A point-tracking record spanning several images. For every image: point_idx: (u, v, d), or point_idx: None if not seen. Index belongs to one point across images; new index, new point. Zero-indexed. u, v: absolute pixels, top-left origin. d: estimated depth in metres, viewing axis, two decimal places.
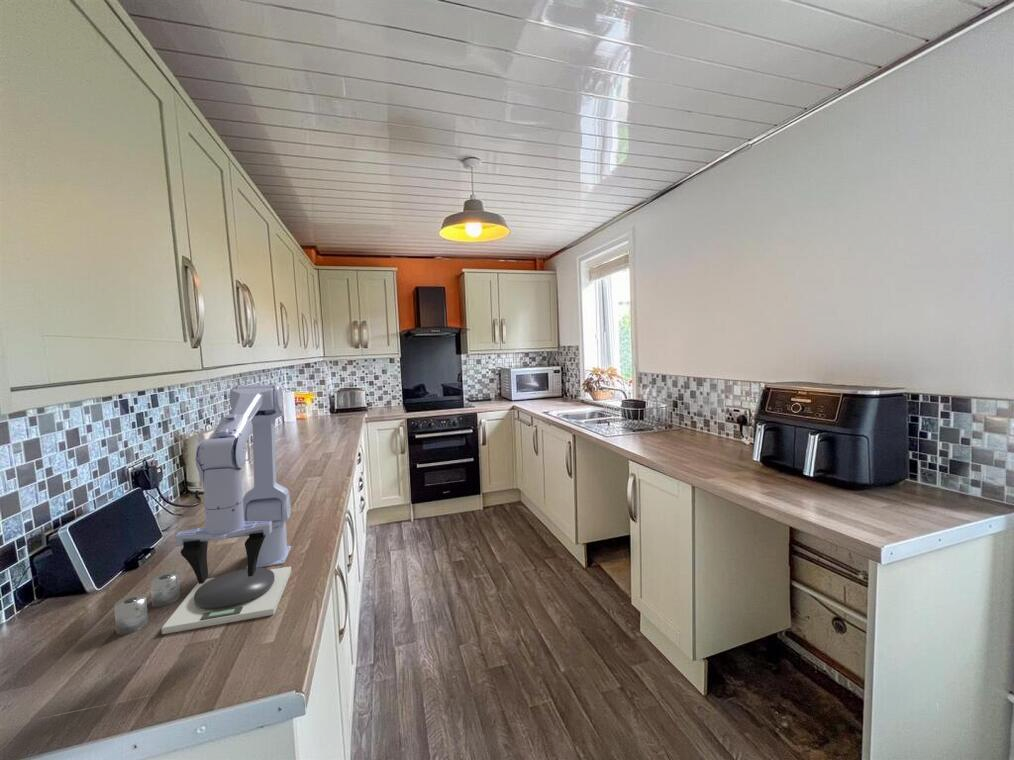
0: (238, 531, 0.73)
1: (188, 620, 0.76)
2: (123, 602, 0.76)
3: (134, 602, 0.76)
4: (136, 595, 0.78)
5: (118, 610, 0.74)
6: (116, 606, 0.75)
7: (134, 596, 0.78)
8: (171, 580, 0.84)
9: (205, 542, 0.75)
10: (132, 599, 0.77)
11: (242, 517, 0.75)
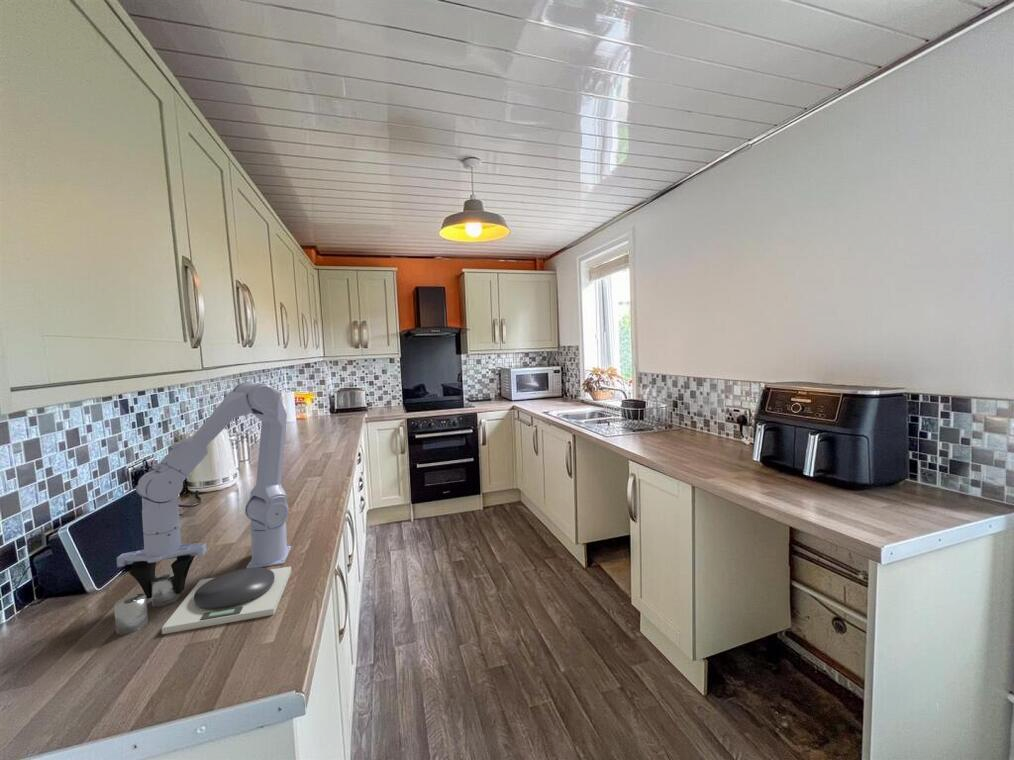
0: (173, 553, 0.83)
1: (188, 620, 0.76)
2: (122, 602, 0.76)
3: (134, 602, 0.76)
4: (136, 595, 0.78)
5: (118, 610, 0.74)
6: (116, 606, 0.75)
7: (134, 596, 0.78)
8: (171, 580, 0.84)
9: (153, 562, 0.85)
10: (132, 599, 0.77)
11: (178, 540, 0.85)
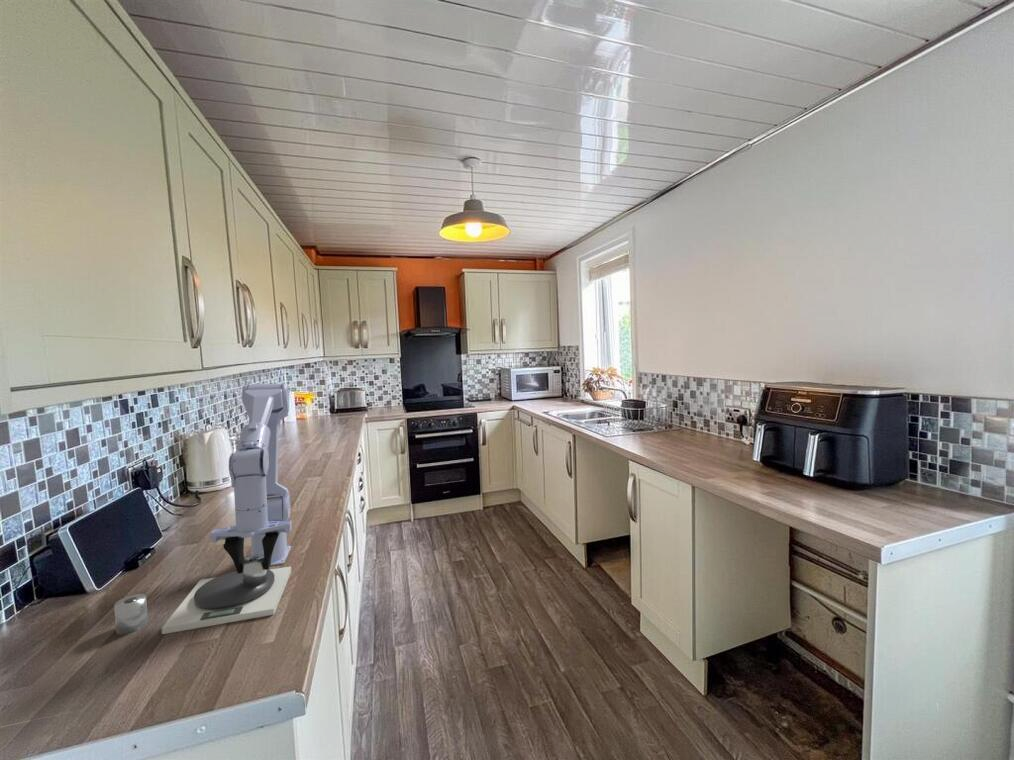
0: (263, 529, 0.85)
1: (188, 620, 0.76)
2: (122, 602, 0.76)
3: (134, 602, 0.76)
4: (136, 595, 0.78)
5: (118, 610, 0.74)
6: (116, 606, 0.75)
7: (134, 596, 0.78)
8: (262, 561, 0.86)
9: (242, 538, 0.87)
10: (132, 599, 0.77)
11: (266, 517, 0.87)
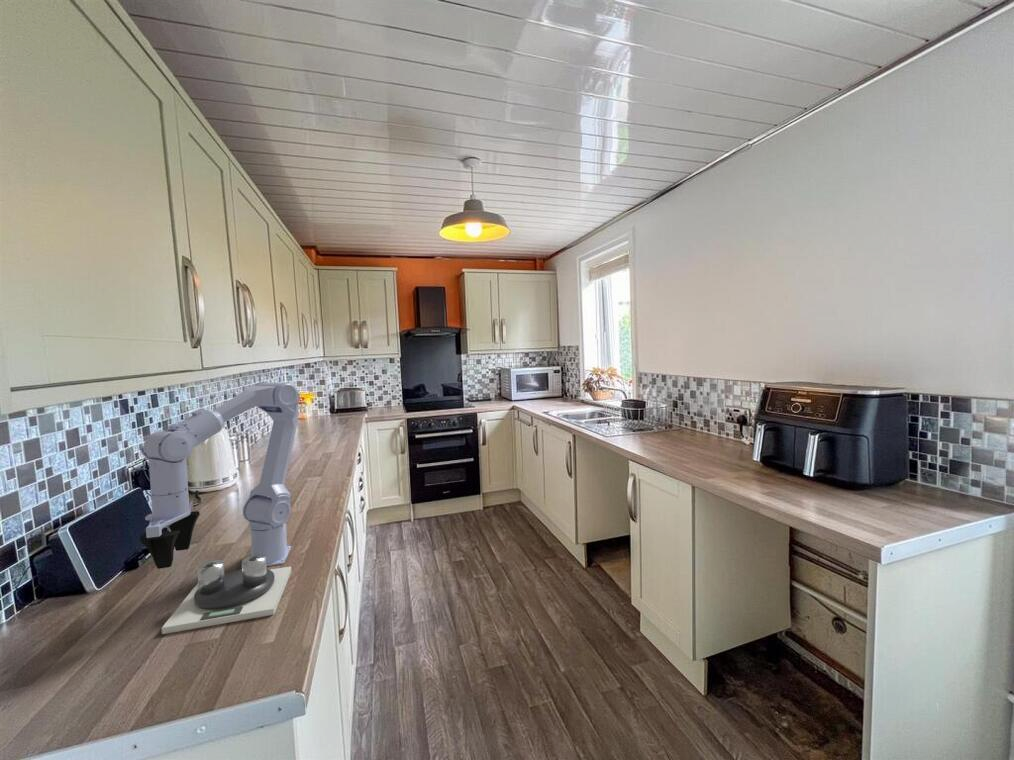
0: (150, 520, 0.79)
1: (188, 620, 0.76)
2: (204, 566, 0.84)
3: (215, 565, 0.84)
4: (213, 561, 0.86)
5: (203, 573, 0.82)
6: (200, 569, 0.82)
7: (212, 561, 0.86)
8: (262, 561, 0.86)
9: (188, 518, 0.86)
10: (211, 564, 0.85)
11: (162, 510, 0.79)
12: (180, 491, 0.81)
